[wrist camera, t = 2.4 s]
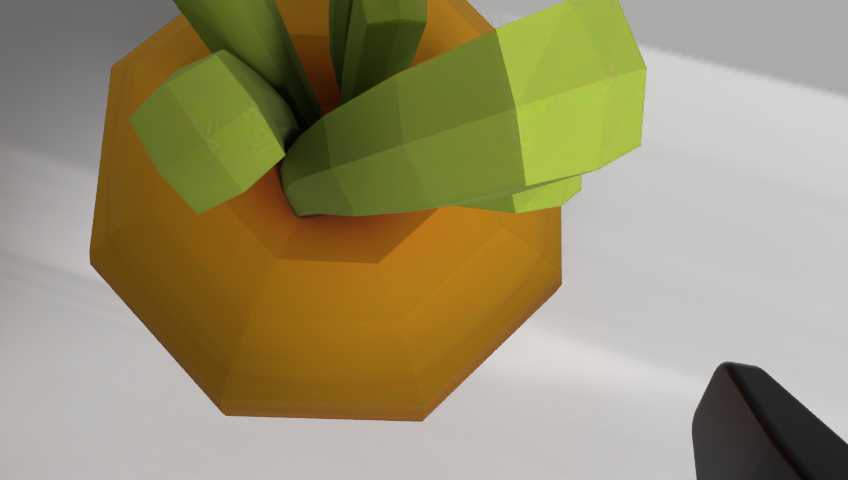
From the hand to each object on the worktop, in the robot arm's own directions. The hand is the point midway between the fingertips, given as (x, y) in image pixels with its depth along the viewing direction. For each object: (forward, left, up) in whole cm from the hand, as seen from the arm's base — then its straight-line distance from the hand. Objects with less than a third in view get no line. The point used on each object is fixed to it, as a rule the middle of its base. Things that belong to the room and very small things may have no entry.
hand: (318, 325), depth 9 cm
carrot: (+1, 0, -9) cm, 9 cm away
